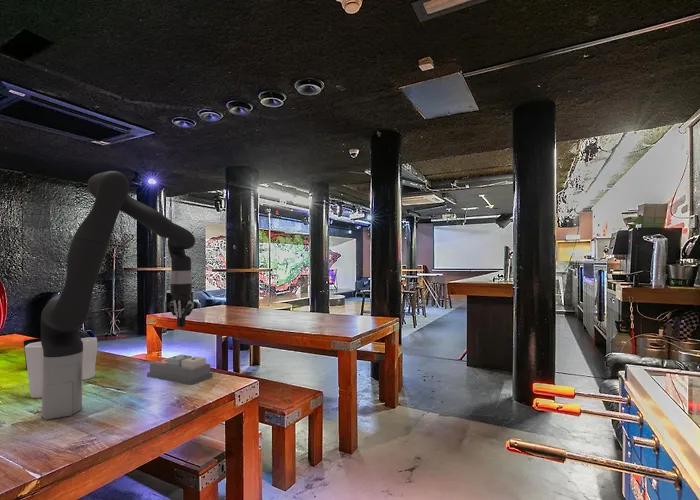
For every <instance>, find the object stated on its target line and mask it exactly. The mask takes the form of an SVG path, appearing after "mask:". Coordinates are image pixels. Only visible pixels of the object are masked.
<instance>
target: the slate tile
mask: <svg viewBox="0 0 700 500" xmlns="http://www.w3.org/2000/svg"><path fill="white" fill-rule="evenodd" d="M191 357H193V356H192V355H187V354H178V355H175V356H171V357H167V358H168V365H169V366H175V367H180V366H182V360H184V359H188V358H191Z"/></svg>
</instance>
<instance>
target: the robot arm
mask: <svg viewBox="0 0 700 500" xmlns="http://www.w3.org/2000/svg"><path fill="white" fill-rule="evenodd" d="M87 189H88V191H89V193H90V194H91V195H92V196H93V197H94V198H95V200H94V203H93V205H92V208H91V210H90V212H89V213H88V214H87V216H86V217H85V219H83V220H82V222H81V224H80V225H79V226H78V228H77V230H76V231H75V233H74V235H73V238H72V240H71V243H70V245H69V249H68V252H67V256H66V277H65V282H64V286H63V288H62V291H61V293H60V295H59V298H58V299H54V300H52V301H50V302H48V303H47V304H45V306H44V307H43V309H42V311H41V316H40V338H41V345H42V348H43V387H42V398H41V400H42V401H41V417H42V418H44V420H45V421H46V420H52V419H58V418H64V417H70V416H71V417H72V416H73V415H75V414H76V413H77V412H80V411H81V410H82V409H83V380H82V376H83V342H82V340H81V339H82V338H81V337H80V329H79V328H81V327H82V326H83V325H84V324H85V322H86V320H87V318H88V315H89V312H90V305H91V301H92V298H93V292H94V288H95V284H96V282H97V280H98V276H99V274H100V270H101V267H102V264H103V262H104V260H105V257H106V254H107V250H108V247H109V245H110V240H111V237H112V236H113V235H112V234H113V231H114V228H115V224H116V221H117V218H118V217H119V216H118V215H119V213H120V212H122V213H124V214H126V215H127V216H129V217H131V218H133V219H134V220H135V221H137V222H138V223H140V224H141V225H142V226H145V228H147V229H148V230H150V231H151V232H153V233H154V234H155V235H157V236H159V237H160V238H166V239H167V248H168V252H169V256H170V259H171V265H170V266H171V269H170V270H171V271H170V272H171V273H170V295H171V297H172V298H171V301H170V302H168V303H167V304H166V305H167V307H168V309H169V312H170V313H171V314H172V316H173V317H175V318H176V326H177V328H184V327H186V317H188V316H190V315H191V313H192V312H193V310H194V308H195V307H196V303H195V302H192V301H191V300H192V299H191V294H192V292H193V289H192V288H193V285H192V284H193V281H192V280H193V277H192V259H191V257H190V256H189V255H186V250H189V249H191V248H193V247H194V246H195V244H196V238H195V236H194V235H193V232H192V231H190V230H188V229H186V228H184V227H182V226H180V224H177V223H175V222H173V221H171V220H170V219H169V218H168V217H166V216H165V215H164V214H162V213H161V212H160V211H158V210H156V209H155V208H153V207H152V206H149V205H147V204H145V203H143V202H140V201H138V199H135V198H134V197H132V196H131V195H129V191H130V183H129V180H128V178H127V177H126V175H125V174H123V173H122V172H120V171H117V170H109V171H104V172H99V173H96V174H94V175H92V176H91V177H90V178H89V179H88V180H87Z"/></svg>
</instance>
